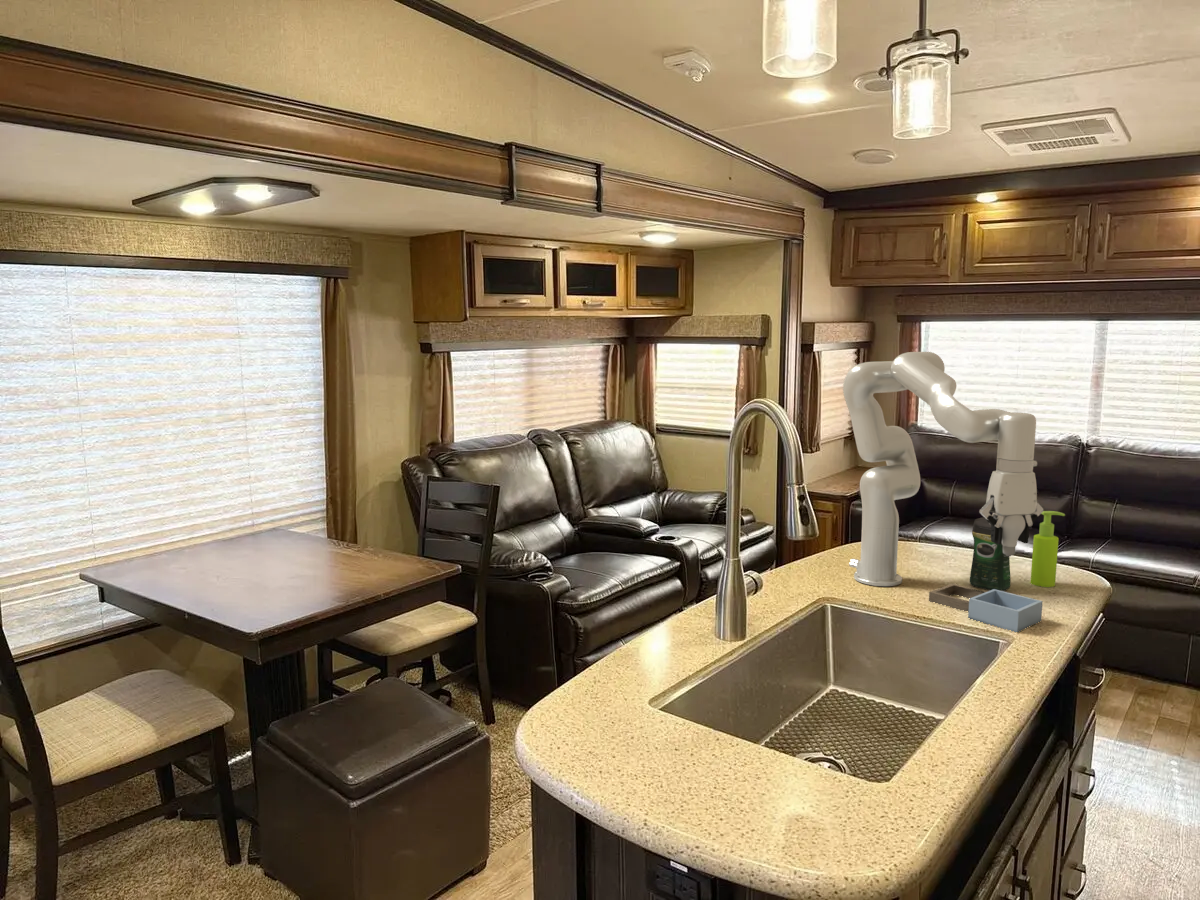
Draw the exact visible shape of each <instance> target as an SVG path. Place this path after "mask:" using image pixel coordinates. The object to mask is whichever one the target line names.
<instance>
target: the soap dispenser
mask: <svg viewBox="0 0 1200 900" xmlns="http://www.w3.org/2000/svg"><path fill="white" fill-rule="evenodd" d="M1040 515H1043V521H1042V522H1040V523H1039V531H1038V532H1039V533H1037V534H1034V535H1033V540H1032V541H1033V542H1032V554H1031V555H1032V556H1031V568H1030V569H1031V571H1030V582H1029V583H1030V584H1031V585H1032V586H1037V587H1040V586H1041V588H1054V587H1055V586H1056V578H1057V577H1056V576H1057V565H1058V553H1059V551H1058V550H1059V537H1058V536H1056V535H1054V532H1055V524H1054V523H1053V522H1052V516H1062V517H1065V516H1066V514H1065V513H1064V512H1060V511H1055V510H1044V511H1043V512H1042V513H1041V514H1040Z"/></svg>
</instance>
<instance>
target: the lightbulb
mask: <svg viewBox="0 0 1200 900" xmlns="http://www.w3.org/2000/svg"><path fill="white" fill-rule="evenodd" d="M1000 527H1001V528H1002V529H1003V532H1002V545H1003V554H1005V555H1006V556H1009V557H1011V556H1014V555H1015V554H1016V547H1017V545H1018V542H1019V541H1018V538H1019V536H1020V534H1021V533H1022V532H1023V530H1024V528H1025V520H1024V518H1023V516H1022V515H1010V516H1005V517H1004V519H1003V521H1002V523H1001V526H1000Z"/></svg>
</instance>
